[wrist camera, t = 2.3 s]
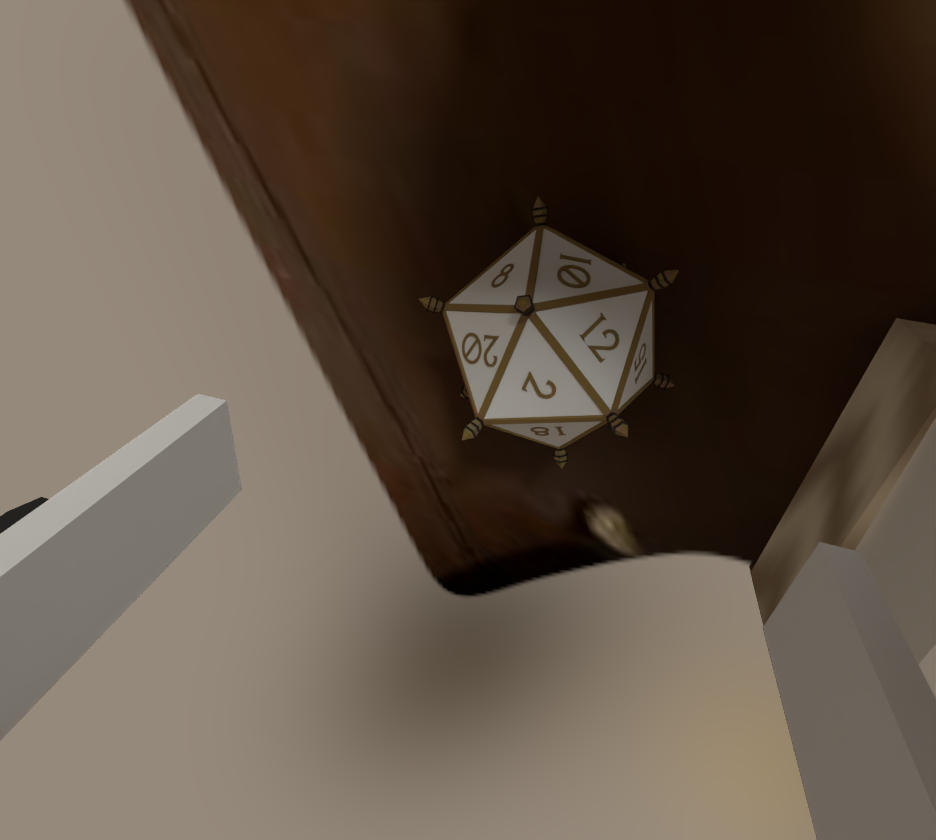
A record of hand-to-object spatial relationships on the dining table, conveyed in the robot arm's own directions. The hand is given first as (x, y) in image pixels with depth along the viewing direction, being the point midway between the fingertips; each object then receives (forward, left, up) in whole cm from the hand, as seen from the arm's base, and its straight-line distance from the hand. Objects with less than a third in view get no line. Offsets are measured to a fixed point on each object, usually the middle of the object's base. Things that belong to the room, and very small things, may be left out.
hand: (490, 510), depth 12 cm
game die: (0, 0, -13) cm, 13 cm away
